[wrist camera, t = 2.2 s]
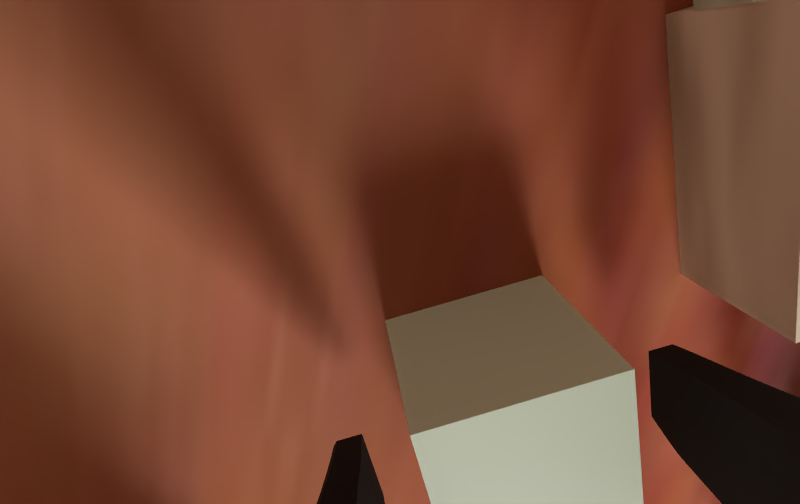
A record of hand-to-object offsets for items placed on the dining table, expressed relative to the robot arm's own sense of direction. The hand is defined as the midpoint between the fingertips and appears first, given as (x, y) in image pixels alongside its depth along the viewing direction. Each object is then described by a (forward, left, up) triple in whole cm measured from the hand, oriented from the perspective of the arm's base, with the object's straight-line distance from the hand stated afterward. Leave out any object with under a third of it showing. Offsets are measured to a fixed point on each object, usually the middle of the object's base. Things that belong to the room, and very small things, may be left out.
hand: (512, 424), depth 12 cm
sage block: (0, 0, -3) cm, 3 cm away
